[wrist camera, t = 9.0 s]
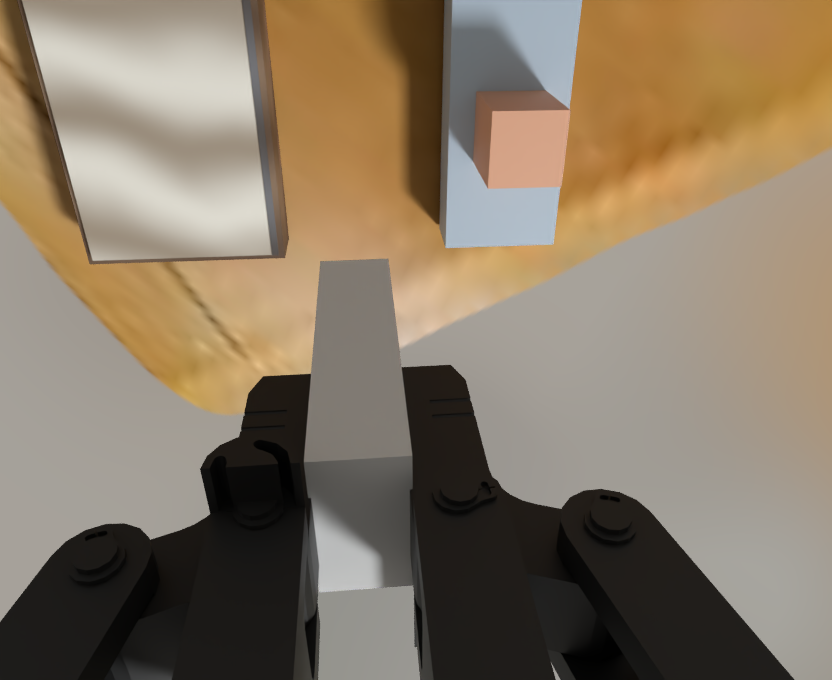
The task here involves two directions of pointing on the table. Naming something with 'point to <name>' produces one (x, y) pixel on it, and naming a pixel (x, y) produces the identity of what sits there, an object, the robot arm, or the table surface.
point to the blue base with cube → (505, 119)
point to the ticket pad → (163, 126)
